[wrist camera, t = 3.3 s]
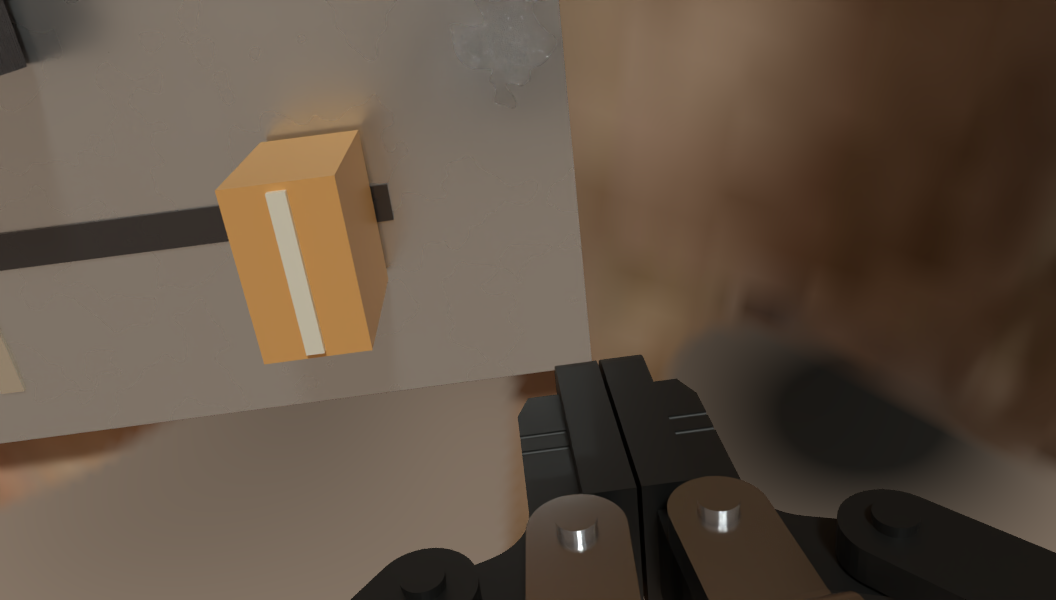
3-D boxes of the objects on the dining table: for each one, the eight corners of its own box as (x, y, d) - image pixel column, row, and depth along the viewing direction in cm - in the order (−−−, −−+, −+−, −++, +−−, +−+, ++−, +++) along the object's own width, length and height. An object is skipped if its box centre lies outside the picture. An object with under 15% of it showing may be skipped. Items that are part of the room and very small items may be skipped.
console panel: (525, -291, 23) (549, -380, 16) (584, 339, 31) (617, 453, 25) (-561, -160, 23) (-997, -195, 16) (-205, 443, 31) (-391, 588, 24)
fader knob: (358, 129, 25) (333, 177, 20) (388, 278, 27) (371, 353, 22) (260, 142, 25) (212, 192, 20) (298, 290, 27) (262, 368, 22)
